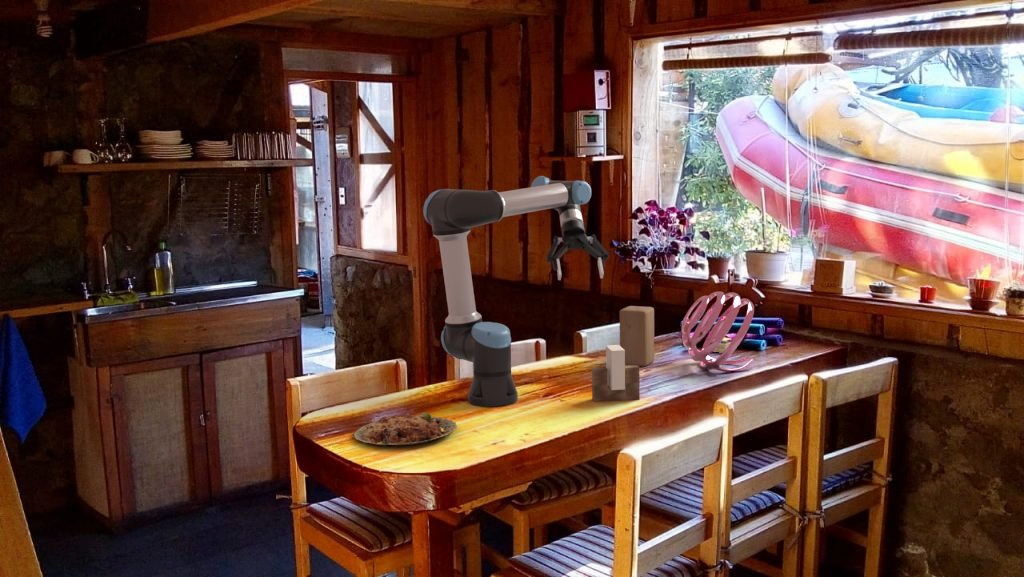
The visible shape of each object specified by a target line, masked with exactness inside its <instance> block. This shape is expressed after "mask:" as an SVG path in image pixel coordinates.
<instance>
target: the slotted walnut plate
mask: <svg viewBox="0 0 1024 577" xmlns="http://www.w3.org/2000/svg"><path fill="white" fill-rule="evenodd" d="M640 382H641V381H640V366H637V365H625V389H624V390H611V388H610V387H609V386H608V369H607V368H606V366H592V367H591V388H592V389H591V391H592V392H591V398H592V399H591V400H592V401H593V402H594V403H595V402H596V403H597V402H616V401H617V402H618V401H620V402H621V401H637V400H640V393H641V392H640V389H641V387H640Z"/></svg>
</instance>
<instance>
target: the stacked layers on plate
mask: <svg viewBox="0 0 1024 577" xmlns="http://www.w3.org/2000/svg"><path fill="white" fill-rule="evenodd" d="M729 340H731V338H729V337H726V336H725V337H724V338H723V340H722V341H721V342H720V344H719V345H718V346H717V347H716V348H715V349H714V350H713V351H712V353H713V352H719V353H718V354H721V353H723V352H724V351H725V350H726V349H727V347H728V346H729V345H730V343H731V342H732V341H729Z"/></svg>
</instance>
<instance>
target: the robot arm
mask: <svg viewBox="0 0 1024 577" xmlns="http://www.w3.org/2000/svg"><path fill="white" fill-rule="evenodd" d="M591 197H592V188H591V185H590V184H588V182H587V181H584V180H578V179H577V180H551V179H550V178H549V177H546V176H544V175H539V176H537V177H536V178H534V180H532V183H531V186H529V187H525V188H518V189H512V190H507V191H500V192H498V191H497V190H494V189H490V190H473V189H472V190H471V189H453V188H443V189H438V190H435V191H432V192H431V193H430V194H429V195H428V197H427V198H425V201H424V205H423V212H422V213H423V217H424V220H425V221H426V222H427V223H428V224H429V225H431V228H432V236H433V237H435V239H437V240H438V244H439V251H440V258H441V265H442V273H443V278H444V279H443V280H444V286H445V295H446V302H447V310H448V316H447V317H446V318H445V320H444V323H445V324H444V325H445V326H444V327H443V330H442V331H441V335H440V341H441V344H442V347H443V349H444V351H445V352H446V353H447V354H448V355H450V356H451V357H454V358H455V359H459V360H462V361H467V362H471V363H472V369H473V370H472V371H473V372H472V374H473V376H472V380H471V384H470V387H469V390H468V396H467V398H468V403H469V404H471V405H475V406H478V407H501V406H503V407H505V406H508V405H512V404H514V403H516V402H517V401H518V400H519V399H518V398H519V397H518V391H517V388H516V385H515V382H514V378H513V375H512V337H511V331H510V329H509V327H508V326H506V325H505V324H502V323H500V322H499V323H498V322H492V321H483V318H482V315H481V313H479V312H478V311H477V307H476V300H475V294H474V285H473V279H472V270H471V262H470V255H469V247H468V240H467V236H468V235H470V233H471V228H476V227H480V226H483V225H487V224H492V223H497V222H500V221H501V220H502V219H503V218H505V217H511V216H517V215H523V214H526V213H532V212H538V211H543V210H548V209H549V210H550V209H554V210H555V211H557V212H558V216H559V222H560V228H561V229H560V230H561V235H562V237H559V236H558V235H554V237H553V243H552V245H551V247H550V249H549V251H548V253H547V256H546V262H547V263H551V265H552V268H553V271H556V272H557V274H556V275H557V280H558V281H561V280H562V269H561V263H560V259H561V258H562V257H563V255H564V254H565V253H567V252H568V250H571V251H575V250H579V251H581V250H583V252H587V254H589V255H591V256H592V257H593V258H594V259H596V260H597V268H598V272H599V278H600V279H603V278H604V274H605V273H604V272H605V271H604V270H605V268H606V262H605V261H608V260H609V258H610V253H609V252H608V251H607V249H606V248H605V247H604V246H603V245H602V243H600V241H599V240H598V239H597V236H596V234H592V235H591V236H587V234H586V230H585V224H584V220H583V219H584V218H583V215H582V210H581V209H582V208H581V205H586V204H587V203H588V202H589V201H590V199H591ZM560 243H562V244H563V245H562V246H561V248H559V250H557V248H558V245H560ZM556 250H557V252H556ZM555 252H556V253H555Z"/></svg>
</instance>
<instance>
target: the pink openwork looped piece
mask: <svg viewBox="0 0 1024 577" xmlns="http://www.w3.org/2000/svg"><path fill="white" fill-rule="evenodd" d="M714 297H716V301H715V302H714V303H713V304H712V305H711V307H709V309H708V310H707V312H705V311H706V309H707V307H708V304H709V302H710V301H712V299H713V298H714ZM731 298H732V300H733V301H732V304H731V305H730V306H729V307H728V308H727V309H726V310H725V311H724V312H723V313H722V314H721V311H722V309H723V306H724V304H725V302H726V301H727V300H729V299H731ZM700 302H701V303H700ZM699 303H700V304H699ZM698 304H699V305H698ZM697 305H698V306H697ZM745 305H747V309H746V310H747V311H746V314H745V317H744V319H743V322H742V324H741V326H740V328H739V330H737V333H736V335H735V336H734V337H733V339H732V341H730V342H731V343H730V345H729V346H728V347H727V349H726V350H725V351H724V352H723V353H722V354H721V353H720V355H719V356H717V358H715V357H712V356H710V354H712V353H713V350H714V349H715V348H716V347H717V346H718V345H719V344H720V342H721V341H722V340H723V338H724V337H725V338H726V335H727V334H728V333H729V331H730V329H731V328H732V326H733V324H734V323H735V321H736V318H737V317H738V316H737V315H738V314H739V311H740V308H741V307H743V306H745ZM696 307H697V308H696ZM694 309H695V311H694V312H693V310H694ZM692 312H693V313H692ZM691 313H692V315H691ZM704 313H705V314H704ZM720 314H721V315H720ZM754 314H755V305H754V304H753V302H752V301H751V300H750V299H748V298H744V297H743V298H741V295H739V294H738V293H736V292H728V293H724V292H723V291H714V292H712V293H710V294H709V295H703V296H701V297H699V298H698V299H696V300H695V302H694V303H693V304H692V305H691V306H690V308H689V309H688V311H687V312H686V314H685V316H684V317H683V320H682V322H681V333H682V335H681V336H682V344H683V346H684V347H685V348H686V349H688V355H689V357H690V358H691V360H693V361H694V362H699V365H700V366H701V367H702V368H703V369H705V370H707V371H712V370H713V371H718V372H723V373H732V372H731V371H735V372H738V370H739V371H741V369H742V370H743V369H745V368H747V367H748V366H750V364H752V363H753V361H754V359H753V358H752V359H751V357H750V356H748V357H745V358H741V359H736V360H727V359H729V357H730V356H731V355H732V354H733V353H734V352H735V351H736V349H737V347H738V346H739V345H740V344H741V343H742V340H743V339H744V337H745V336H746V334H747V332H748V330H749V329H750V326H751V323H752V321H753V317H754ZM690 315H691V316H690ZM703 315H704V316H703ZM719 315H720V317H719ZM689 316H690V318H689ZM718 317H719V319H718ZM701 318H702V319H701ZM700 319H701V320H700ZM717 319H718V320H717ZM698 322H699V323H698ZM697 323H698V324H697ZM696 325H697V326H696ZM713 325H714V326H713ZM695 326H696V328H695V330H694V332H693V333H692V334H693V335H691V330H692V329H693V328H694V327H695ZM708 332H709V333H708ZM706 334H708V335H707V337H706ZM704 337H706V339H705V341H704V343H703V345H702V347H701V350H699V349H698V348H697V344H698V343H699V342H701V340H702V339H703V338H704ZM723 341H724V340H723ZM748 360H749V361H748ZM746 361H747V363H745V364H744V365H742V366H739V367H737V368H725V367H721V365H722V364H731V365H737V364H741V363H744V362H746Z"/></svg>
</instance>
